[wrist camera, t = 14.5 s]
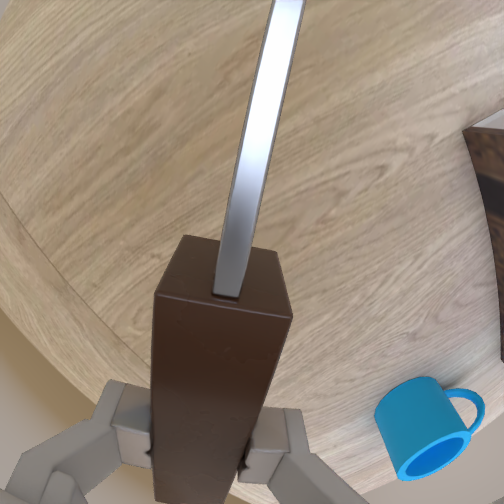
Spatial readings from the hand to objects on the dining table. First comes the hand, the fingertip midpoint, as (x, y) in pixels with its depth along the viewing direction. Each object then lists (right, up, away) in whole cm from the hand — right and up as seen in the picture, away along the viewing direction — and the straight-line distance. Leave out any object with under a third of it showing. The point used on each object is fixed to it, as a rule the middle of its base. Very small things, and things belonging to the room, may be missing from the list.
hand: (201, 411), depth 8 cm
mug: (+20, -12, +21) cm, 32 cm away
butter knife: (+1, +6, -1) cm, 6 cm away
